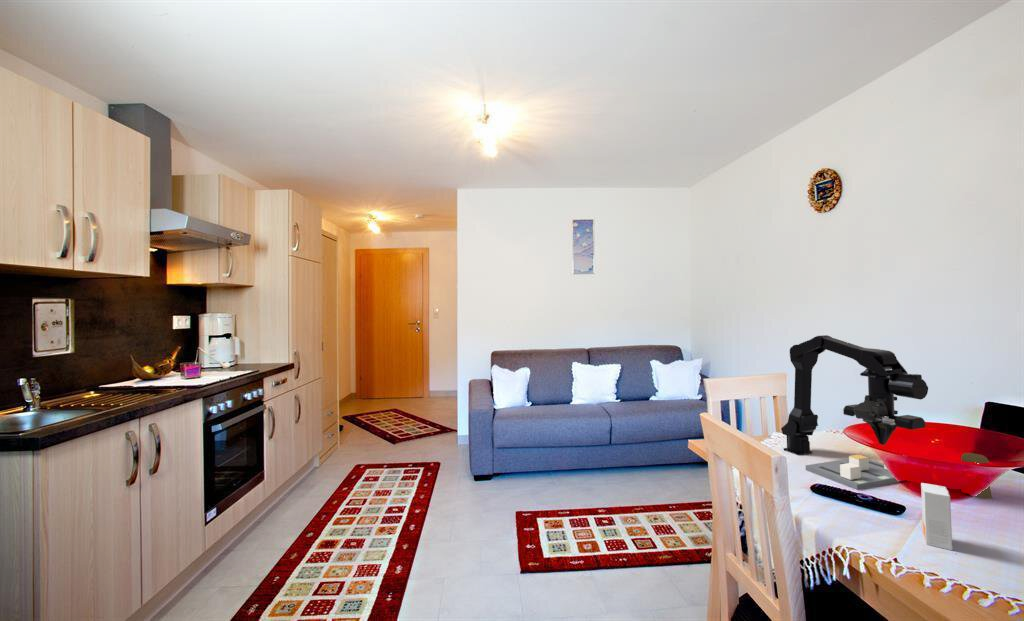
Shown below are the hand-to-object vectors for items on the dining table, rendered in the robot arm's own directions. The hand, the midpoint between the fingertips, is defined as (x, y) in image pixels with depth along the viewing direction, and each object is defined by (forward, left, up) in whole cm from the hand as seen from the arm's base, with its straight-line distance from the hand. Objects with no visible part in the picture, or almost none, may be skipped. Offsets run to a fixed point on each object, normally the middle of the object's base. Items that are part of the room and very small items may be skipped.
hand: (882, 444), depth 125 cm
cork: (+13, +15, -12) cm, 23 cm away
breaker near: (-3, -9, -10) cm, 13 cm away
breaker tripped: (-7, 0, -10) cm, 12 cm away
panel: (-7, 0, -11) cm, 13 cm away
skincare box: (+26, -23, -12) cm, 37 cm away
